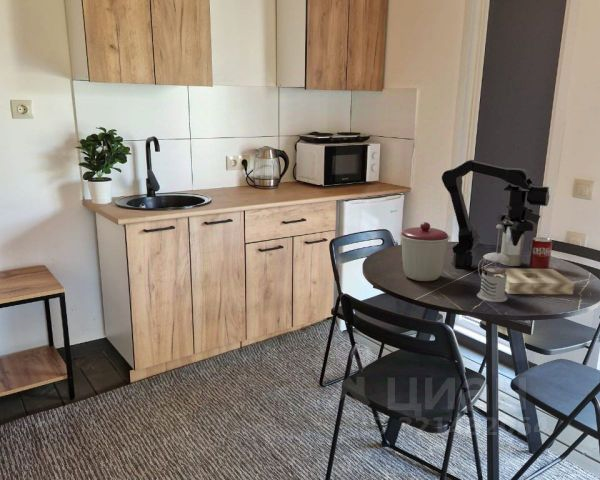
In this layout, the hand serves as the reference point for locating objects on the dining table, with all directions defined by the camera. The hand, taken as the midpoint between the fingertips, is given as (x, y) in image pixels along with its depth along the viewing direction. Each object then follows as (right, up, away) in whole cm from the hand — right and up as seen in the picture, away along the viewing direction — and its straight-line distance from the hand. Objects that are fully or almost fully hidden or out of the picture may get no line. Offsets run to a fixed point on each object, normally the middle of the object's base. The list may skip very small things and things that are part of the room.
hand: (512, 244), depth 193 cm
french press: (-15, -18, -18) cm, 30 cm away
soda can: (+15, -10, +12) cm, 21 cm away
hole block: (+3, -15, -9) cm, 18 cm away
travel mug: (+6, -8, +17) cm, 20 cm away
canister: (-34, -13, 0) cm, 36 cm away
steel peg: (0, -3, +1) cm, 4 cm away
